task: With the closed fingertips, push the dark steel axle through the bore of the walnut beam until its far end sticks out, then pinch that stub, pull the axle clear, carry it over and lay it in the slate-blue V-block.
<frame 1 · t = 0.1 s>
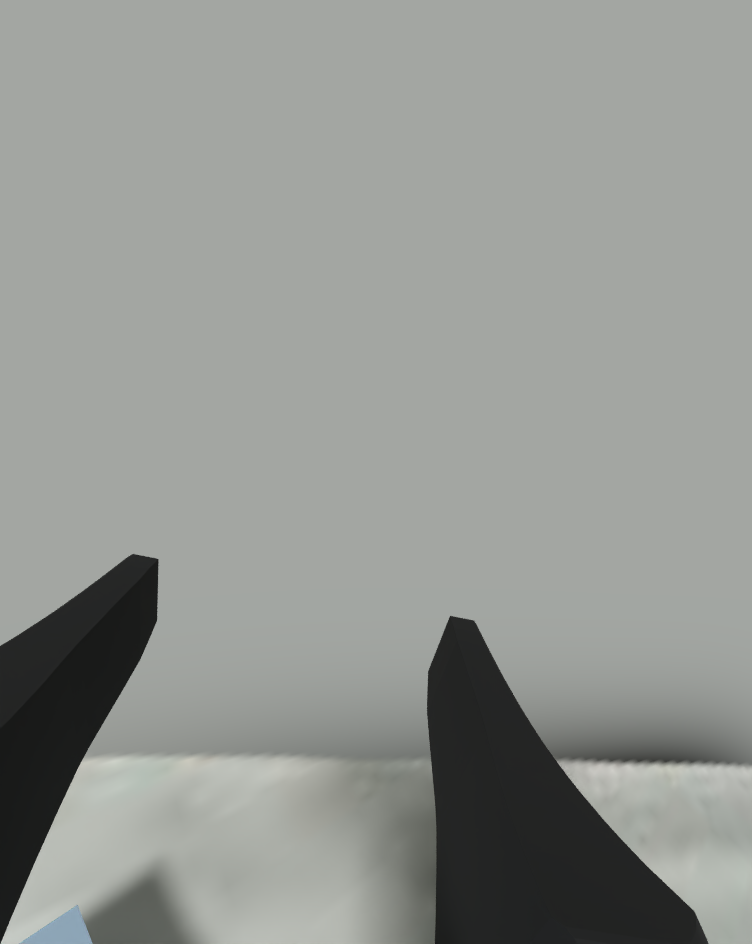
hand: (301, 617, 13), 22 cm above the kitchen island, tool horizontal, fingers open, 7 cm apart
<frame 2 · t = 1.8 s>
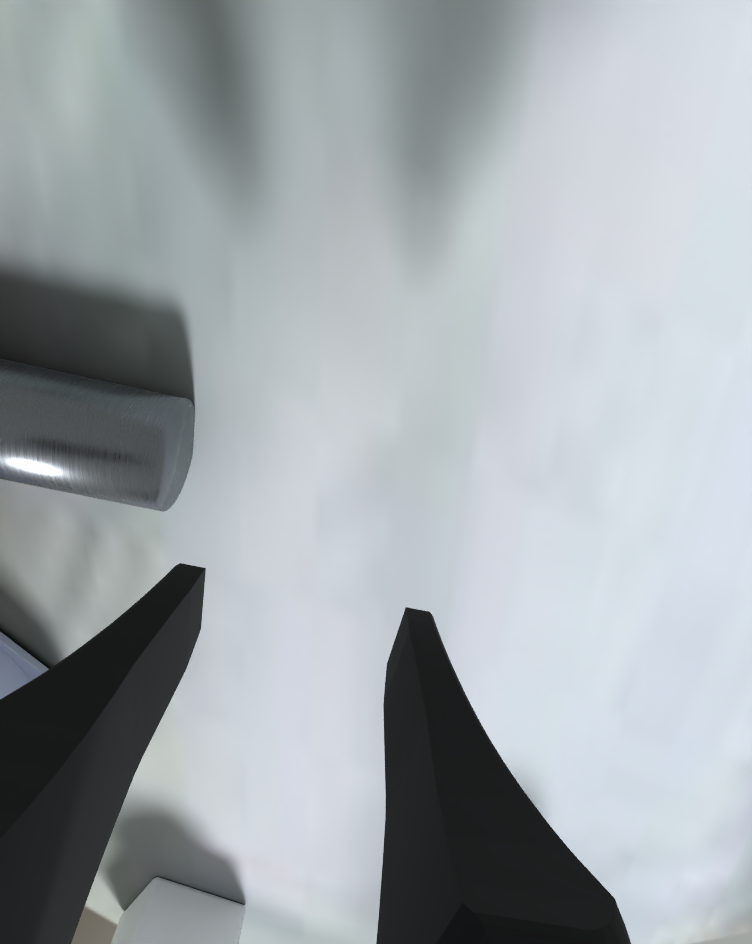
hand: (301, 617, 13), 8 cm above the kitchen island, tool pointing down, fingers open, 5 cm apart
medicine bottle: (184, 905, 40), on the kitchen island
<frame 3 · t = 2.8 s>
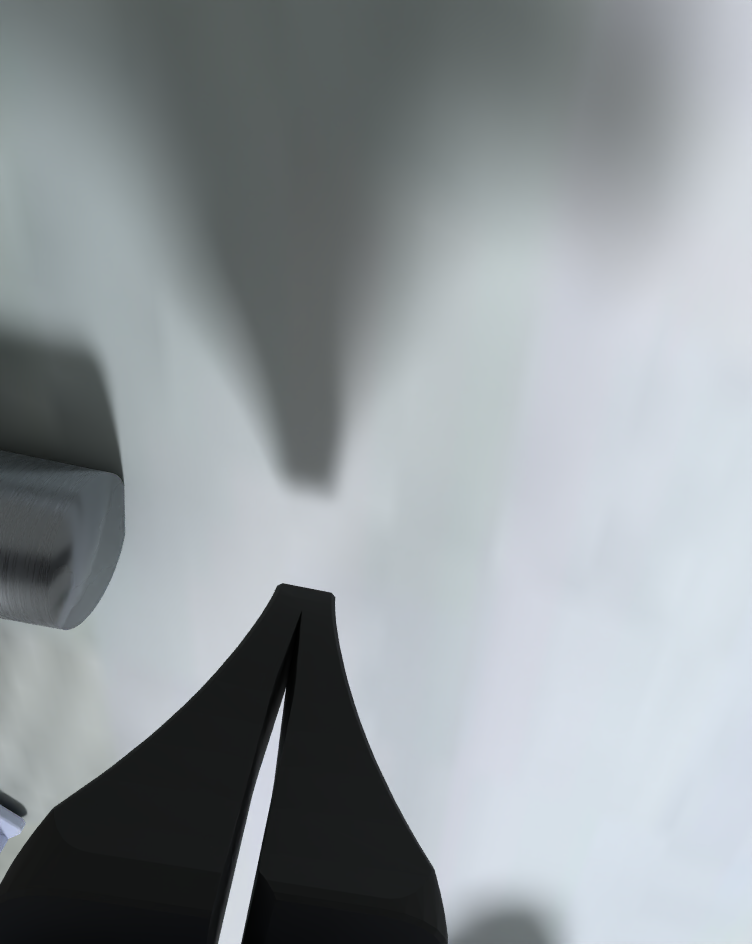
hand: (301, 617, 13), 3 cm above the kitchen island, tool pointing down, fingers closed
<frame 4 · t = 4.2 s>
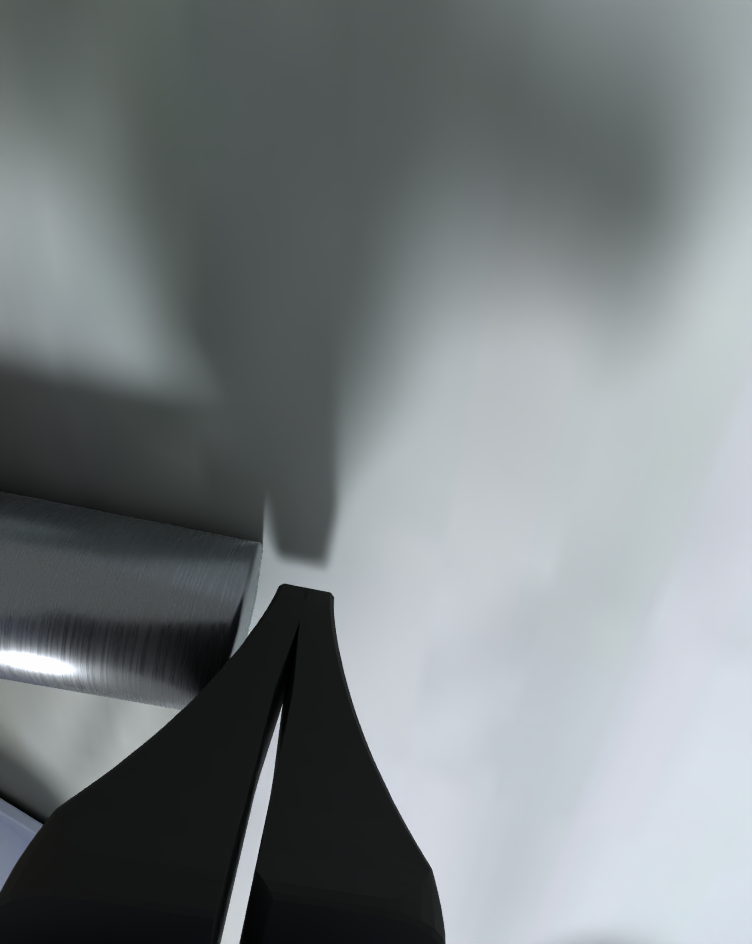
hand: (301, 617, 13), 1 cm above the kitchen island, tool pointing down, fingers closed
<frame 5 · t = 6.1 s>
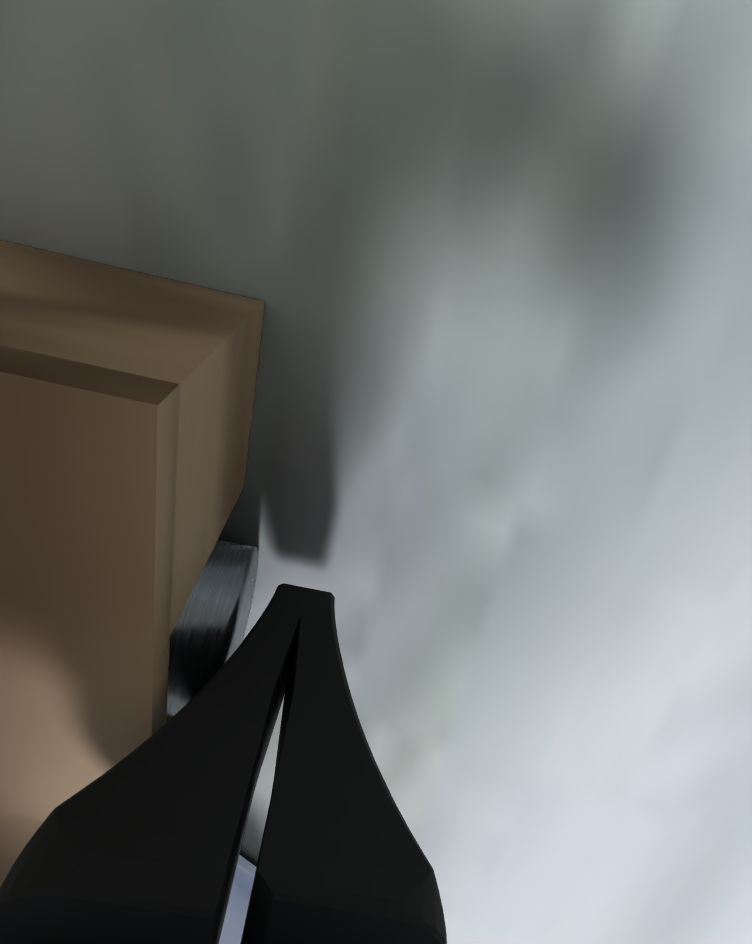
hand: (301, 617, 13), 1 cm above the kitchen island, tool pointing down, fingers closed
beam: (121, 542, 14), on the kitchen island
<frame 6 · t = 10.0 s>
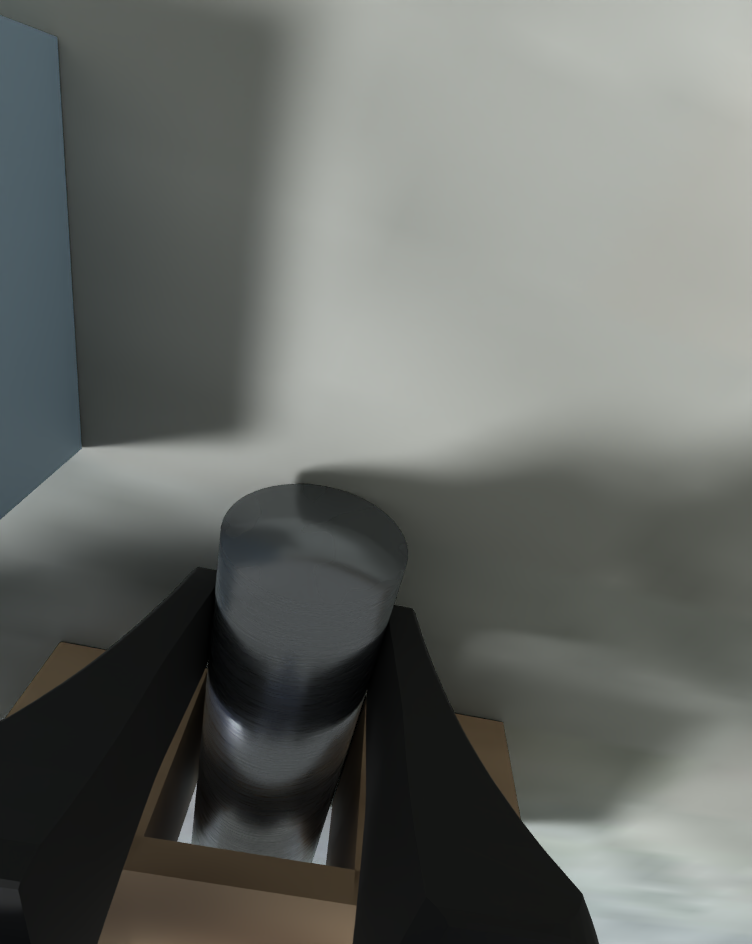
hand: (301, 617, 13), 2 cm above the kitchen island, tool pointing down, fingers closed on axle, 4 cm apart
axle: (276, 734, 15), point 2 cm above the kitchen island, touching gripper
beam: (276, 741, 18), on the kitchen island
when the fingers open (6 cm above the kitchen island, at t = 15.4 s): axle stays where it is, resting on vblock.
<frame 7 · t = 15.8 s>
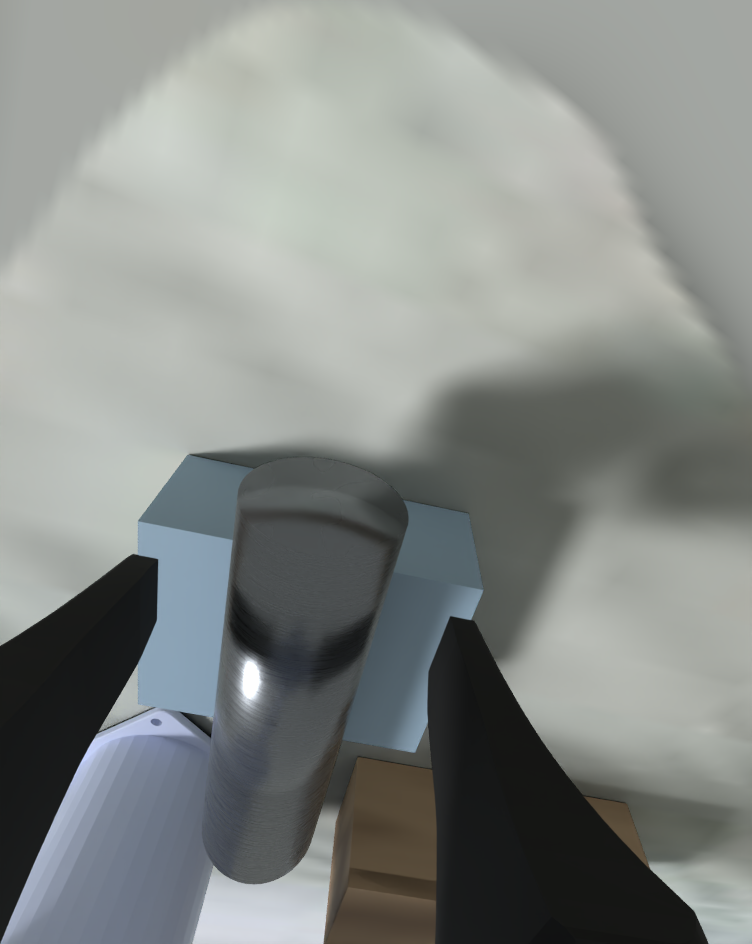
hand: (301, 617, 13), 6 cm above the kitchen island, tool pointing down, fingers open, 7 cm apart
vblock: (312, 571, 21), on the kitchen island
axle: (285, 694, 16), point 6 cm above the kitchen island, touching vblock
beam: (476, 812, 28), on the kitchen island
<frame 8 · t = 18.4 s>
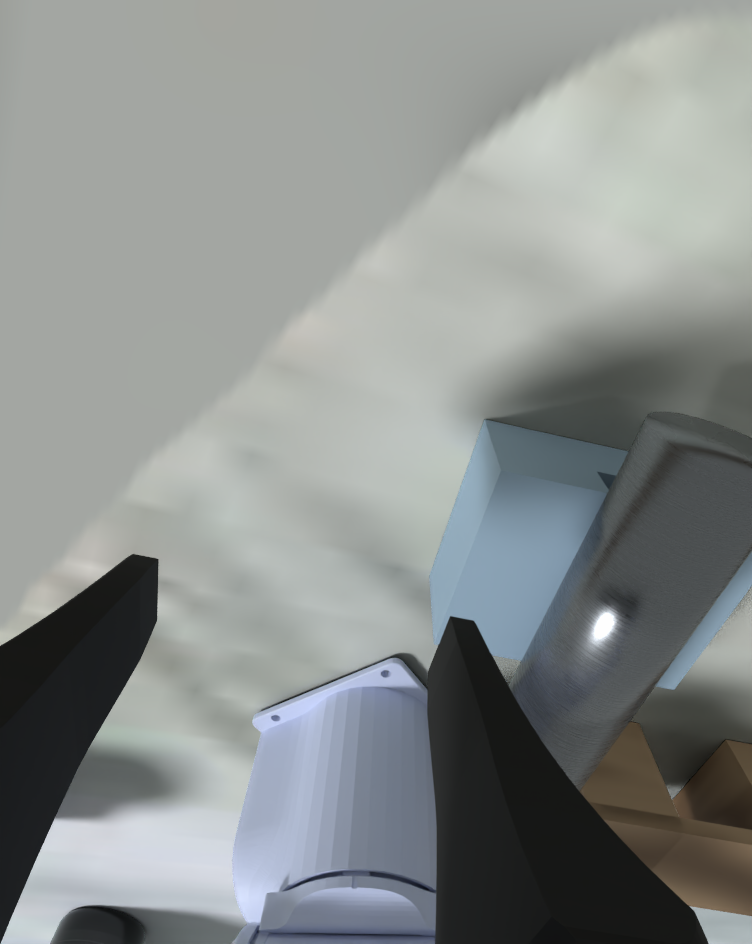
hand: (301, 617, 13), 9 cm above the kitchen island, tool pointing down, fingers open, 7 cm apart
supplement bottle: (106, 921, 44), on the kitchen island
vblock: (568, 528, 23), on the kitchen island
axle: (611, 625, 18), point 6 cm above the kitchen island, touching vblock
beam: (656, 763, 30), on the kitchen island
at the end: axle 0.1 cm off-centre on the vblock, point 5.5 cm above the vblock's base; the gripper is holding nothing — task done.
